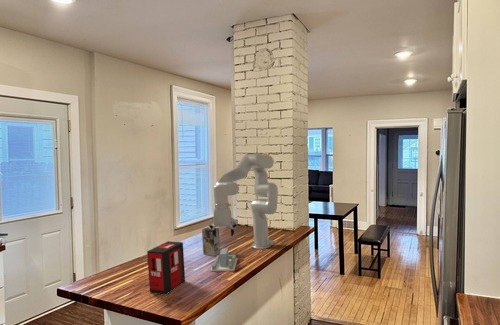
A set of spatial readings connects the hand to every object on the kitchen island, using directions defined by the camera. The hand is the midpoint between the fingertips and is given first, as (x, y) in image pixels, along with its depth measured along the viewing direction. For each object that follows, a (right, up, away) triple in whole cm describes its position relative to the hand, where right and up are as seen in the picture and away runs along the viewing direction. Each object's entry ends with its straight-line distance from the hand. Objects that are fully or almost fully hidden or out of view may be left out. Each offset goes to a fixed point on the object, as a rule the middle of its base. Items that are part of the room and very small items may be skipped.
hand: (223, 236), depth 193 cm
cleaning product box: (-25, -20, -26) cm, 41 cm away
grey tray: (0, -17, 0) cm, 17 cm away
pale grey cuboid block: (0, -16, 0) cm, 16 cm away
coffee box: (-9, -16, +22) cm, 29 cm away
